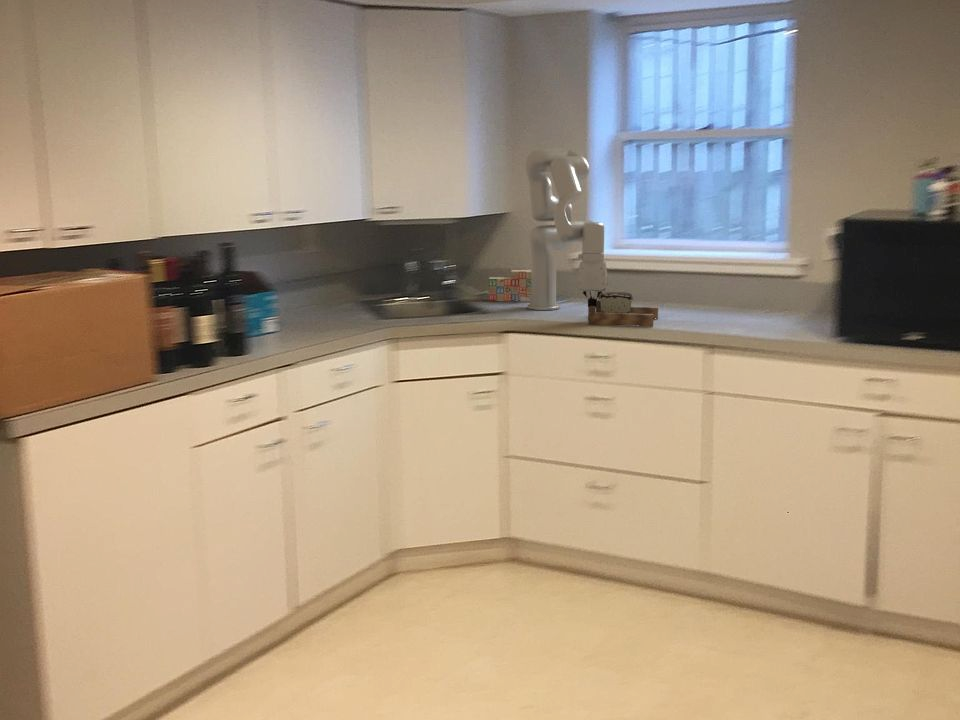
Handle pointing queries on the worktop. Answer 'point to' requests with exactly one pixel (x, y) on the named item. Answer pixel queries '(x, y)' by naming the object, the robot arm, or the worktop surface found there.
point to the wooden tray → (622, 316)
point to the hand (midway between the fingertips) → (592, 309)
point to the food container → (615, 302)
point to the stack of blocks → (510, 286)
